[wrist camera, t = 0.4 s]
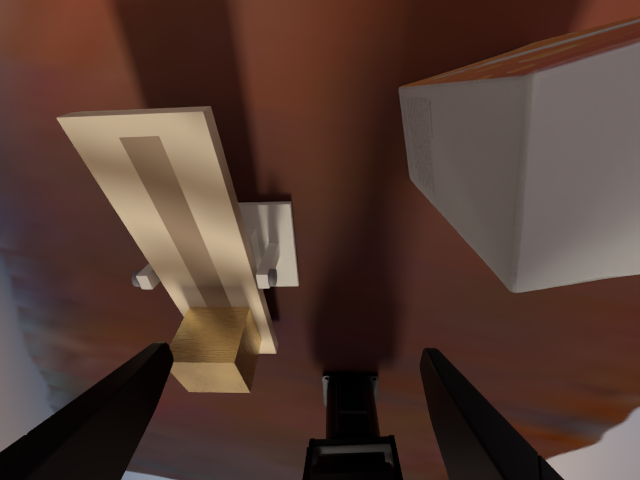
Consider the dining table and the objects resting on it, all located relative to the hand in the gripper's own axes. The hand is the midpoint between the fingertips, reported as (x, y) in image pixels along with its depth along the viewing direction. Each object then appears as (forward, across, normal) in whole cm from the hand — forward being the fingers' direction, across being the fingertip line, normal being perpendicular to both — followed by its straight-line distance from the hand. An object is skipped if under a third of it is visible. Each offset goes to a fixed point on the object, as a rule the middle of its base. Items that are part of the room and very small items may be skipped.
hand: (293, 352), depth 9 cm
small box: (+14, -10, -7) cm, 18 cm away
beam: (+9, +8, +3) cm, 12 cm away
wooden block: (+10, +8, +9) cm, 16 cm away
